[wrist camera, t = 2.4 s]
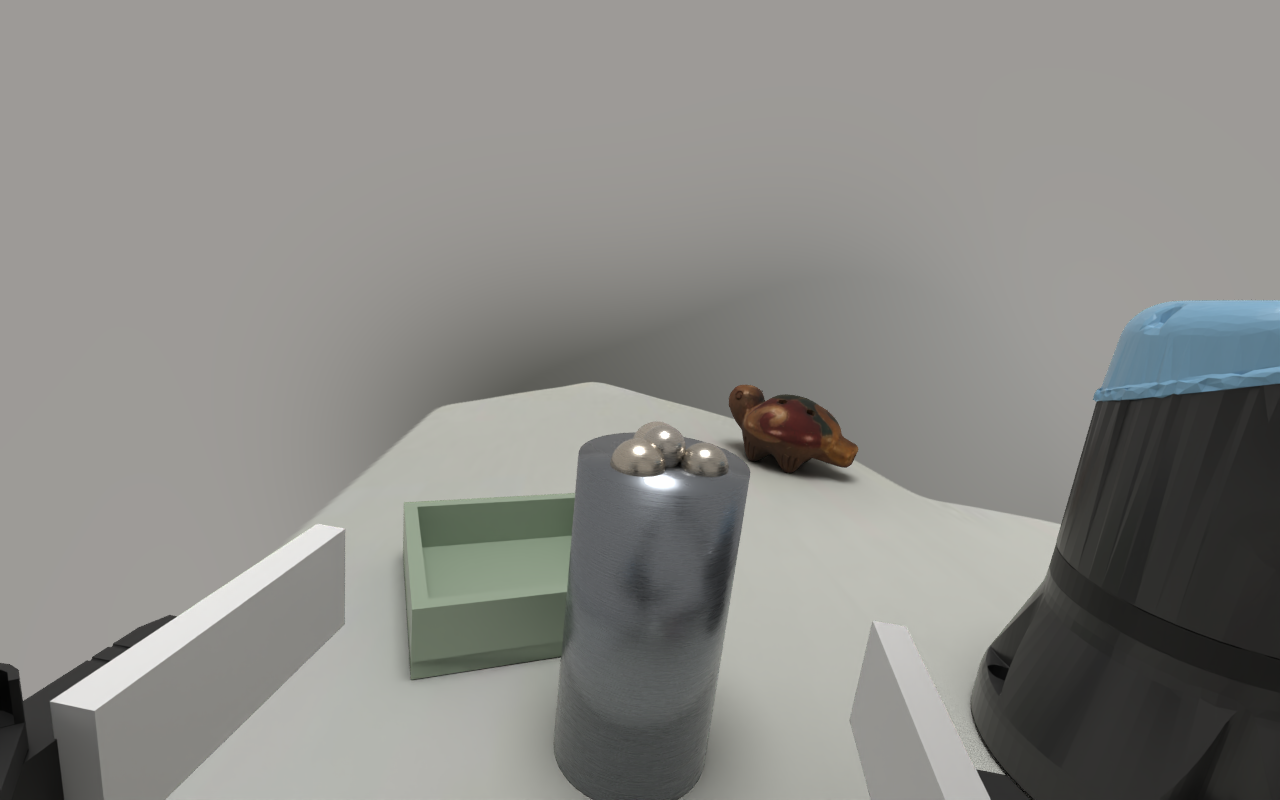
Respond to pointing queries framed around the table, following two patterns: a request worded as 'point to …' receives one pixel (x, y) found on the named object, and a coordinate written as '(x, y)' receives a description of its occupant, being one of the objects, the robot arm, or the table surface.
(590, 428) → the table surface
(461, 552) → the bin
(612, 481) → the can
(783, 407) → the decorative turtle
